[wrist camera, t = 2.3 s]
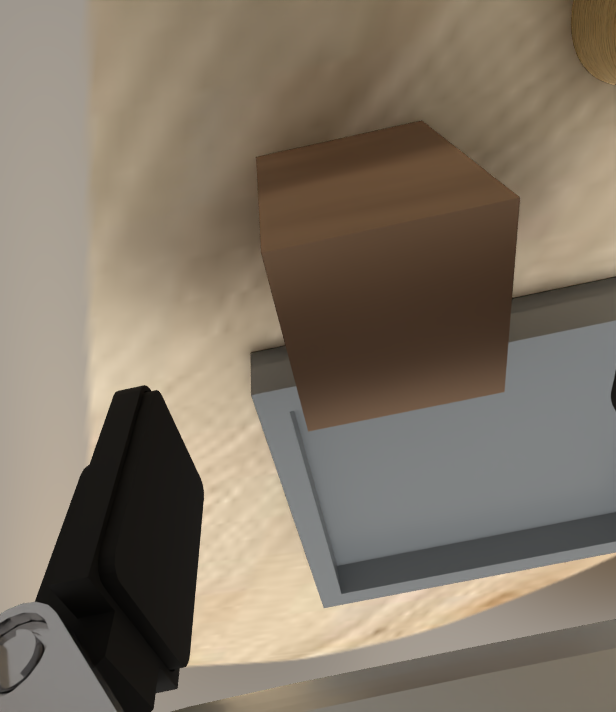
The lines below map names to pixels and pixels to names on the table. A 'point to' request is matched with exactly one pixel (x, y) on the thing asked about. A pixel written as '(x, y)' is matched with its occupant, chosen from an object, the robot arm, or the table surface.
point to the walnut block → (388, 272)
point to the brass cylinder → (596, 37)
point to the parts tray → (460, 463)
